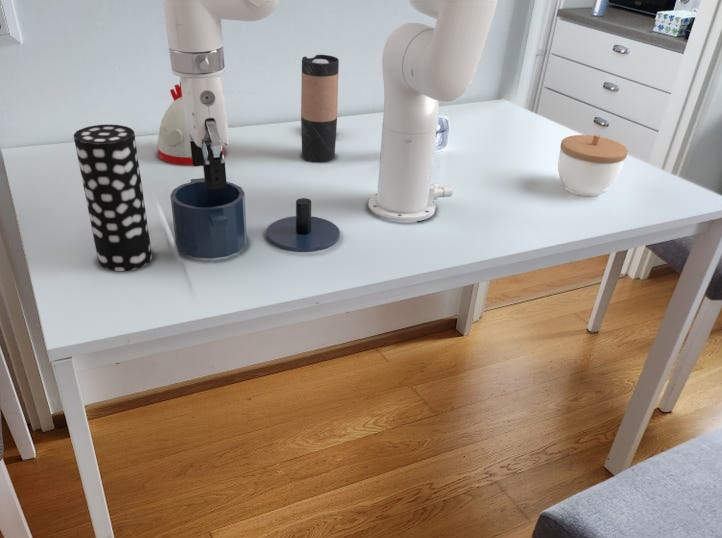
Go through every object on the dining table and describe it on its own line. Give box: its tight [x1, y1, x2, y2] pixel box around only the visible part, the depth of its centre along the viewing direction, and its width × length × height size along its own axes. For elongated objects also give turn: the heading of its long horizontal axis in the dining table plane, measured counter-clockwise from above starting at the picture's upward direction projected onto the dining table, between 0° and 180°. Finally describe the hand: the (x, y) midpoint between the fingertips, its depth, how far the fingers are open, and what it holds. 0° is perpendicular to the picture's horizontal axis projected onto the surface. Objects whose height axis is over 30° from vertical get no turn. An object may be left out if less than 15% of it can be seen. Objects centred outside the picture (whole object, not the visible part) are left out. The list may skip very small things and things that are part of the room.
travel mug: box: [300, 54, 340, 163], centre depth 142 cm, size 8×8×20 cm
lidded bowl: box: [557, 134, 629, 197], centre depth 135 cm, size 13×13×11 cm
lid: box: [266, 197, 341, 253], centre depth 114 cm, size 12×12×7 cm
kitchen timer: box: [157, 80, 225, 166], centre depth 142 cm, size 14×14×15 cm
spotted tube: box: [73, 124, 153, 272], centre depth 102 cm, size 8×8×20 cm
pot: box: [169, 177, 248, 259], centre depth 111 cm, size 12×17×9 cm
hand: (209, 176), depth 106 cm, fingers open, 9 cm apart
